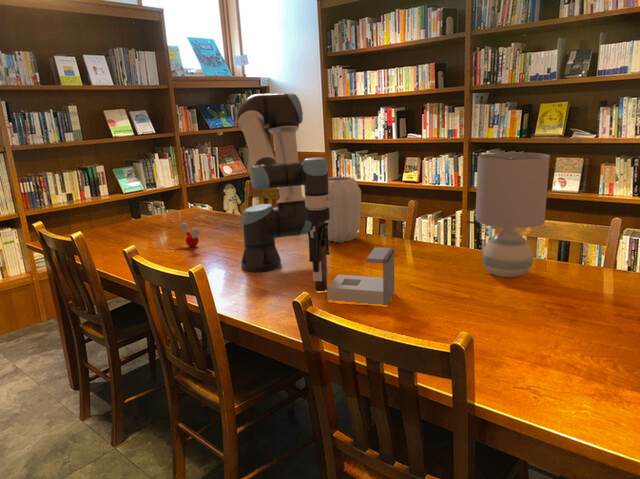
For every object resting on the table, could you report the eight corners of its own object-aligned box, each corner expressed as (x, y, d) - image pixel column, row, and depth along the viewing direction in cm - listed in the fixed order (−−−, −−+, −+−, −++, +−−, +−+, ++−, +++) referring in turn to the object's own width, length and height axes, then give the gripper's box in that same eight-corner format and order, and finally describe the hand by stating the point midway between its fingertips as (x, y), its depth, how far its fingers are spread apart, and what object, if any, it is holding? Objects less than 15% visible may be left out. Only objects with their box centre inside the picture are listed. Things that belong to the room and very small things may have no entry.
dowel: (313, 292, 162) (311, 248, 158) (317, 288, 166) (315, 245, 162) (325, 293, 161) (323, 249, 157) (328, 289, 165) (327, 245, 161)
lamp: (491, 260, 186) (497, 151, 175) (550, 272, 171) (560, 153, 160) (461, 275, 172) (465, 158, 161) (523, 290, 156) (532, 161, 146)
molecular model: (177, 244, 228) (175, 223, 226) (189, 241, 232) (186, 220, 229) (195, 251, 215) (193, 229, 213) (208, 248, 219) (205, 226, 216)
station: (327, 302, 154) (325, 256, 150) (338, 288, 165) (336, 245, 161) (387, 307, 148) (387, 259, 144) (394, 293, 159) (394, 248, 155)
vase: (312, 237, 229) (309, 178, 222) (350, 231, 237) (348, 174, 229) (329, 247, 212) (327, 183, 205) (369, 241, 219) (368, 179, 212)
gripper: (319, 214, 146) (322, 288, 152) (337, 202, 163) (339, 268, 170) (295, 213, 149) (300, 286, 155) (315, 201, 166) (318, 267, 172)
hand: (320, 277), depth 162 cm, fingers open, 6 cm apart
